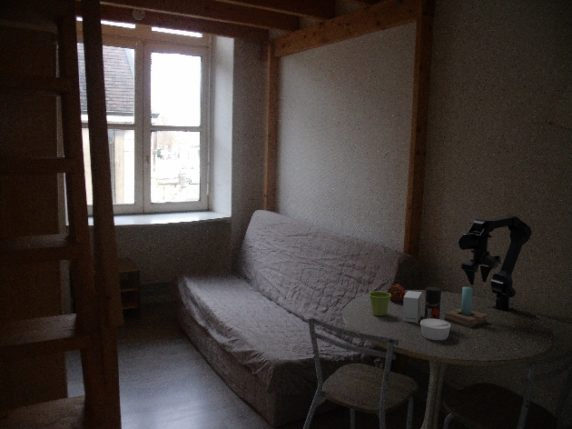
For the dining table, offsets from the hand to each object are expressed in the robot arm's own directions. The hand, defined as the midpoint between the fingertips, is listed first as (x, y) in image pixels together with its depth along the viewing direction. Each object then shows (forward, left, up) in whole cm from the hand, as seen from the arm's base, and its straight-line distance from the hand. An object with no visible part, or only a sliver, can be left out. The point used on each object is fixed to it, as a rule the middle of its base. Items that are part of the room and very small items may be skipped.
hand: (478, 283), depth 228 cm
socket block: (+14, +4, -13) cm, 20 cm away
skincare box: (+30, -11, -13) cm, 35 cm away
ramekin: (+40, +8, -13) cm, 43 cm away
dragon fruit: (+15, -33, -13) cm, 39 cm away
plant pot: (+37, -23, -13) cm, 46 cm away
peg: (+14, +4, -12) cm, 19 cm away
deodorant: (+30, -1, -13) cm, 33 cm away
